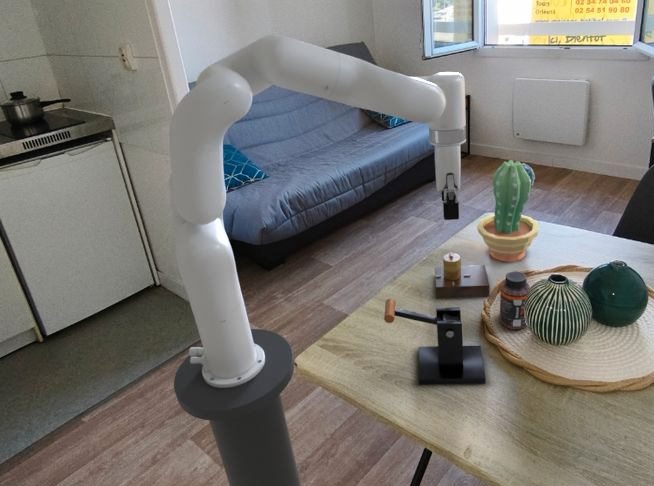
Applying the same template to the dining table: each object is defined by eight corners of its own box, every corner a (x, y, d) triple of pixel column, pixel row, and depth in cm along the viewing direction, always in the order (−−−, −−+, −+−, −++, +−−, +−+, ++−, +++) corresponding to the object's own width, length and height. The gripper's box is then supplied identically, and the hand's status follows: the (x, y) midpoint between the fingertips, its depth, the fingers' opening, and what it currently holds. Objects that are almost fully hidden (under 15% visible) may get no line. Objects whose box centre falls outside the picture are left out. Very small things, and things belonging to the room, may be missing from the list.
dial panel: (436, 298, 116) (435, 286, 114) (434, 277, 124) (434, 266, 123) (489, 296, 114) (489, 284, 113) (484, 275, 123) (484, 264, 121)
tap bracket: (418, 384, 92) (415, 332, 87) (419, 351, 100) (415, 302, 95) (485, 383, 90) (485, 330, 86) (480, 350, 99) (479, 300, 94)
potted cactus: (544, 266, 124) (550, 171, 113) (481, 269, 125) (480, 175, 115) (530, 237, 138) (534, 150, 127) (473, 240, 139) (472, 154, 129)
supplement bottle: (524, 334, 102) (526, 287, 97) (496, 326, 105) (496, 280, 100) (532, 317, 106) (534, 271, 102) (504, 310, 109) (505, 266, 104)
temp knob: (462, 279, 116) (461, 260, 114) (444, 281, 116) (444, 261, 114) (459, 270, 120) (459, 251, 118) (443, 271, 120) (442, 252, 118)
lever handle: (382, 323, 89) (385, 312, 88) (384, 306, 94) (387, 296, 93) (455, 339, 89) (459, 329, 88) (453, 322, 94) (457, 311, 93)
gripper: (428, 124, 112) (432, 195, 119) (430, 148, 97) (434, 228, 104) (462, 122, 111) (464, 193, 118) (469, 146, 96) (470, 226, 103)
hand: (450, 209), depth 111 cm, fingers open, 9 cm apart
